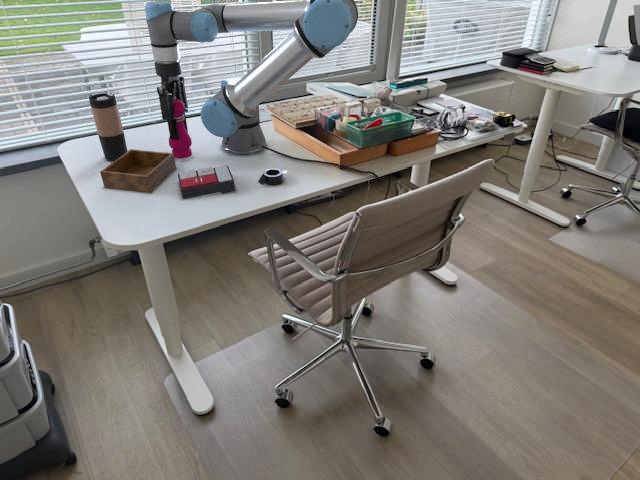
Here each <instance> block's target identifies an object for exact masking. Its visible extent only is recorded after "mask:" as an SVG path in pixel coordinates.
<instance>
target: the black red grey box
mask: <svg viewBox="0 0 640 480" xmlns="http://www.w3.org/2000/svg"><path fill="white" fill-rule="evenodd" d="M177 177H178V183H179V188H180V193H181V198H182V199H183V200H187V199H192V198H197V197H202V196H207V195H213V194H217V193H220V194H228V193H234V192H236V184H235V180H234V177H233V174H232V172H231V169H230V166H229V165H227V164H224V165H223V164H222V165H218V166H214V167H213V166H208V167H202V168H197V169H191V170H190V169H189V170H185V171H180V172H179V173H178V174H177Z"/></svg>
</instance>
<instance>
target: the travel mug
mask: <svg viewBox="0 0 640 480" xmlns="http://www.w3.org/2000/svg"><path fill="white" fill-rule="evenodd" d="M88 101H89V103H90V104H89V105H90V110H91V112H92V116H93V121H94V124H95V128H96V132H97V135H98V139H99V143H100V145H101V149H102V152H103V155H104V159H105V161H107V162H111V163H112V162H114V161H115V160H117V159H118V158H119V157H121V156H122V155H123V154H125V153H126V152H127V151H128V146H127V141H126V137H125V131H124V127H123V122H122V120H121V115H120V111H119V106H118V101H117V98H116V95H115V94H111V95H110V94H107V93H97V94H93V95H90V96H89V97H88Z"/></svg>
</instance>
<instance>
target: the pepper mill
mask: <svg viewBox="0 0 640 480" xmlns="http://www.w3.org/2000/svg"><path fill="white" fill-rule="evenodd" d="M184 111H185V107H184V104H183V102H182V101H180V100H178V99H176V96H175V97H174V118H175V119H176V121H177V127H178V133H179V140H172V139H170V136H169V137H168V145H169V146H168V147H170V148H171V153H174V159H178V160H183V159H188V158H190V157H191V156H192V155H193V151H192V148H191V146H193V145H192V144H193V142H192V137H191V136H190V134H189V131H188V132H187V131H186V129H185V126H184V119H185V118H184V114H183V112H184Z"/></svg>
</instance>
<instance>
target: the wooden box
mask: <svg viewBox="0 0 640 480" xmlns="http://www.w3.org/2000/svg"><path fill="white" fill-rule="evenodd" d="M176 170H177V164H176V158H174V153H172V152H163V151H153V150H151V151H150V150H143V149H133V148H130V149H129V150H127V152H126V153H125V154H123V155H122V156H121V157H119V158H118V159H117V160H115V161H114V162H111V163H110V164H108V165H107V166H105V167H104V168H103V169H102V170H100V171H99V173H100V177H101V181H102V184H103V188H104V189H110V190H116V191H117V190H118V191H125V192H126V191H127V192H136V193H144V194H152V193H153V192H154V191H155V190H156V189H157V188H158V187H159V186H160V185H161V184H162V183H164V181H166V179H167V178H169V177H170V176H171V175H172V174H173V173H174V172H175V171H176Z"/></svg>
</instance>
